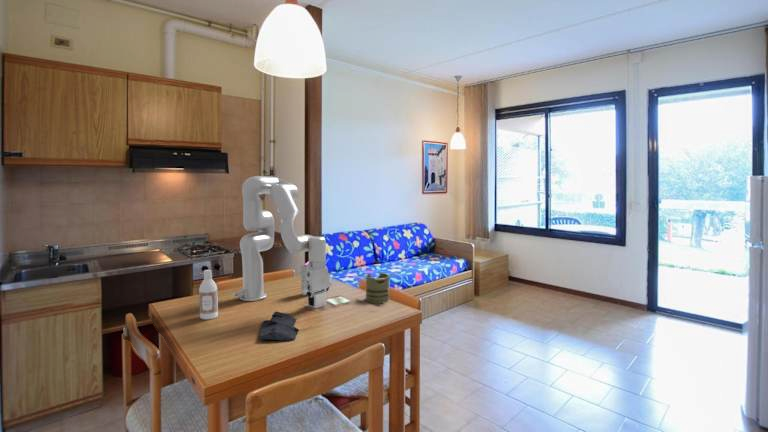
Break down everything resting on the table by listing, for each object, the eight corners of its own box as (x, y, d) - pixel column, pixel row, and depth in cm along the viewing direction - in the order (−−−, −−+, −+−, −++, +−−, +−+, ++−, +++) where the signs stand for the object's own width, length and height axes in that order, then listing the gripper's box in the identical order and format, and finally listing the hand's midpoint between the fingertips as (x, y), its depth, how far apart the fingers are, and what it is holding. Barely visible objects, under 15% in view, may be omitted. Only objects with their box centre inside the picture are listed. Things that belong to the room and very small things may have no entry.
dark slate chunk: (252, 344, 138) (251, 331, 138) (264, 321, 160) (263, 310, 159) (295, 342, 140) (295, 329, 139) (301, 320, 162) (301, 309, 161)
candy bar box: (309, 291, 202) (309, 260, 201) (318, 292, 201) (318, 260, 200) (301, 297, 191) (300, 265, 190) (310, 298, 190) (310, 265, 189)
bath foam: (198, 320, 159) (196, 272, 157) (202, 314, 166) (200, 268, 164) (216, 319, 161) (214, 271, 159) (219, 313, 168) (218, 268, 166)
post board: (315, 315, 167) (315, 300, 166) (300, 307, 177) (299, 293, 177) (357, 305, 181) (357, 291, 180) (340, 298, 192) (340, 285, 191)
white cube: (316, 308, 171) (316, 294, 170) (307, 305, 175) (307, 291, 174) (326, 305, 175) (326, 291, 175) (318, 302, 179) (318, 289, 179)
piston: (363, 273, 193) (385, 272, 196) (363, 297, 194) (384, 295, 197) (369, 279, 182) (392, 277, 185) (369, 304, 183) (392, 302, 186)
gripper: (306, 268, 165) (306, 310, 166) (337, 262, 177) (337, 301, 179) (296, 266, 170) (296, 306, 171) (326, 260, 182) (326, 297, 184)
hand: (317, 303), depth 175 cm, fingers closed on white cube, 6 cm apart
